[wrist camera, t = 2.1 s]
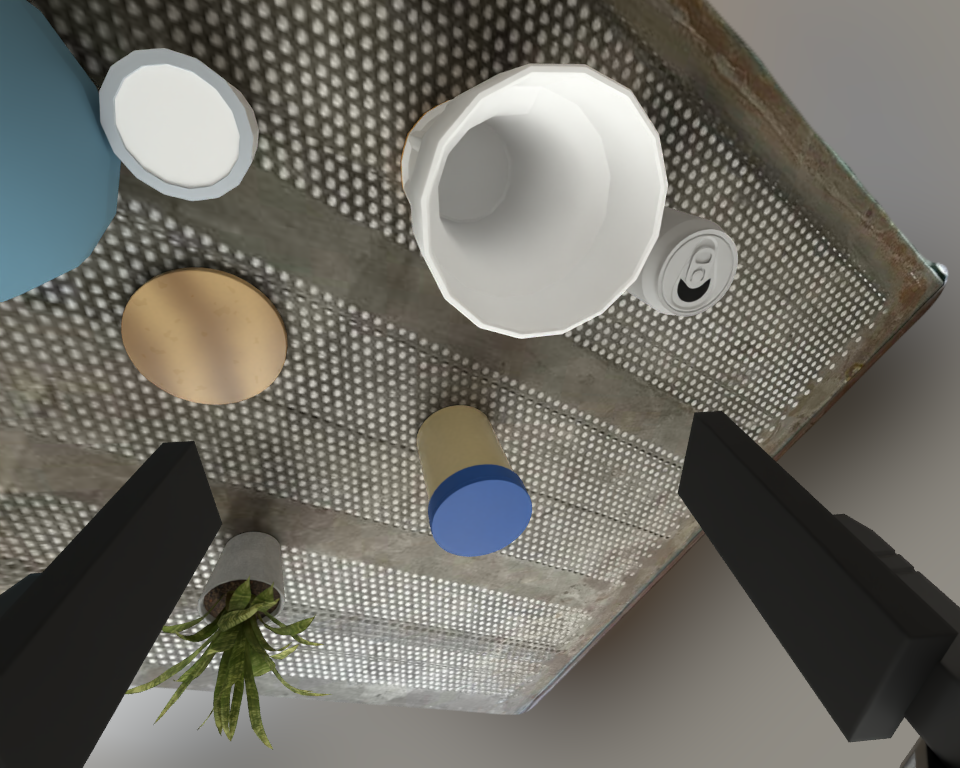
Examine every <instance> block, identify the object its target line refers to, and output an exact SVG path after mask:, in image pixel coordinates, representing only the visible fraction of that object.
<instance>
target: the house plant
mask: <svg viewBox="0 0 960 768" xmlns="http://www.w3.org/2000/svg"><path fill="white" fill-rule="evenodd" d="M284 604H285V594H284V582H283V570H282V559H281V548H280V544H279V543H278V541H277V540H276V539H275V538H274V537H273V536H270V535H268V534H266V533H261V532H246V533H242V534H239V535H237V536H235V537H233V538H231V539H230V540H229V541H228V542H227V544H226V546H225V547H224V549H223V552H222V554H221V556H220V558H219V560H218V562H217V564H216V566H215V568H214V570H213V572H212V574H211V576H210V578H209V580H208V582H207V584H206V586H205V588H204V590H203V592H202V594H201V596H200V598H199V600H198V607H197V609H198V612H199V614H200V616H201V618H198V619H196V620H193V621H191V622H188V623H184V624H179V625H174V626H164V627H163V628H162V630H163V631H164V632H166V633H176V634H177V636H179V637H180V638H182V639H184V640H188V641H192V642H200V641H202V640H205V639H206V638H208V637H210V636H211V635H212V634H213V635H212V636H211V637H210V638H209V639H208V640H207V641H206V642H205V643H204V644H203V645H202V646H201V647H200V648H199V649H197V650H196V651H195V652H194V653H193V654H192V655H190V656H189V657H187V658H186V659H184V660H183V661H182V662H180V663H178V664H176V665H175V666H173V667H171V668H170V669H168V670H167V671H166V672H164V673H163V674H162V675H160V676H159V677H157V678H156V679H154V680H153V681H151V682H149V683H146V684H144V685H141V686H138V687H135V688H132V689H130V690H127V691H126V693H125V694H133V693H139V692H142V691H145V690H148V689H150V688H153V687H155V686H157V685H158V684H160V683H162V682H163V681H165V680H167V679H168V678H170V677H171V676H173V675H174V674H176V673H177V672H179V671H180V670H182V669H183V668H184V667H185V666H186V665H188V664H189V663H190V662H191V661H192V660H193V659H194V658H195V657H196V656H197V654H198V653H199V652H200V651H201V650H203V649H204V648H205V647H206V646H207V645H208V644H209V643H210V642H211V641H212V642H211V644H210V645H209V647H208V648H207V650H206V651H205V652H204V654H203V655H202V657H201V658H200V659H199V660H198V661H197V662H196V663H195V664H194V665H193V666H192V667H191V668H190V669H189V670H187V671H186V672H185V673H184V674H183V675H182V676H181V677H180V678H179V679H178V680H177V681H178V682H183V683H182V684H181V685H180V687H179V688H178V689H177V691H176V692H175V694H174V695H173V697H172V698H171V699H170V701H169V702H168V704H167V705H166V707H165V708H164V710H163V711H162V712H161V714H160V716H159V717H158V719H157V720H156V722H157V721H158V720H159V719H160V718H161V717H162V716H163V715H164V714H165V712H166V711H167V710H168V709H169V708H170V707H171V706H172V704H174V703H175V702H176V700H177V699H178V698H179V697H180V696H181V694H182V693H183V692H184V690H185V689H186V688H187V686H188V685H189V684H190V682H191V681H192V680H193V679H195V678H197V677H198V676H199V675H200V674H201V673H202V672H203V671H204V670H205V668H206V667H207V666H208V664H209V663H210V661H211V660H212V658H213V657H214V655H215V654H216V652H223V651H224V652H223V655H222V658H221V662H220V666H219V671H218V677H217V683H216V687H215V692H214V702H213V706H214V708H213V710H214V717H215V723H216V726H217V728H218V731H219V733H220V734H221V732H222V728H223V730H224V732H225V733H226V735H227V737H228V739H230V741H231V739H232V737H233V735H234V732H235V728H236V725H237V720H238V715H239V710H240V705H241V700H242V695H243V689H244V679H245V684H246V693H247V701H248V709H249V717H250V721H251V725H252V729H253V730H254V732H255V733H256V735H257V736H258V737H259V738H260V739H261V741H262V742H263V743H264V744H265V745H266V746H268V747H269V748H271V749H273V748H272V746H271V744H270V743H269V740H268V739H267V736H266V734H265V731H264V728H263V725H262V720H261V716H260V707H259V697H258V692H257V688H256V685H255V681H254V677H255V676H261V675H263V674H265V673H267V672H269V671H271V670H272V671H273V673H274V674H275V675H276V677H277V678H278V679H279V680H280V681H281V682H282V683H283V685H284V686H286V687H287V688H289V689H290V690H291V691H293V692H294V693H298V694H301V695H307V696H324V695H332V694H316V693H308V692H311V691H305V690H299V689H296V688H294V687H292V686H290V685H289V684H288V683H287V682H285V681H284V680H283V678H282V677H281V676H280V674H279V673H278V671H277V670H276V668H275V663H274V662H273V661H272V659H271V658H270V657H272V658H274V659H280V660H282V659H284V658H285V657H286V656H288V655H289V654H290V653H292V652H293V651H294V650H296V648H297V647H298V645H299V644H298V645H295V646H293V647H291V648H289V649H287V650H285V651H283V652H281V653H279V654H276V655H273V656H269V655H268V654H267V653H266V651H265V649H266V650H269V651H282V650H284V649H285V648H287V647H288V646H289V645H290V644H291V643H292V642H291V643H290V644H288V645H286V646H285V647H283V648H281V649H279V650H275V649H273V648H272V647H270V646H269V644H268V643H267V642H266V640H265V639H264V638H263V635H262V633H261V631H260V629H259V627H260V626H263V625H264V626H265V627H266V628H268V629H269V630H271V631H272V632H274V633H276V634H280V635H291V636H292V637H293V638H294V639H295V640H297V641H298V642H299V643H302V644H306V645H313V646H318V645H323V644H318V643H313V642H309V641H307V640H304V639H303V638H301V637H299V636H298V635H296V634H298V633H301V632H303V631H304V630H305V629H306V628H307V627H308V626H309V625H310V624H311V622H312V621H313V619H314V617H315V616H316V615H315V616H314V617H312V618H308V619H304V620H302V621H299V622H296V623H294V624H291V625H288V626H286V625H284V624H283V623H281V622H280V621H278V620H277V619H276V617H277V616H278V615H279V614H280V612H281V611H282V609H283V608H284ZM201 620H204V621H205V622H207V623H208V624H209V625H207V626H206V627H204V628H203V629H202V630H200V631H199V632H197V633H196V634H194V635H191V636H184V635H181V634H179V633H178V632H180V631H183V630H186V629H188V628H190V627H192V626H194V625H196V624H197V623H199V622H200V621H201ZM270 621H273V622H274V623H276V624H277V625H278V626H280V627H281V628H273V627H270V626H268V625H267V623H269V622H270ZM218 628H219V629H218ZM217 630H218V631H217ZM264 648H265V649H264ZM274 669H275V670H274ZM173 680H174V679H173ZM174 681H175V680H174ZM234 683H235V687H234V693H233V699H232V704H231V710H230V692H231V687H232V685H233V684H234ZM213 710H212V711H211V713H212V712H213ZM211 713H210V715H211ZM210 715H209V716H210ZM204 723H205V722H204ZM204 723H203V724H204ZM228 723H229V727H228ZM201 726H202V725H201ZM201 726H200V727H201ZM198 729H199V728H198ZM229 729H230V731H229Z"/></svg>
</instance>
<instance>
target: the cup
mask: <svg viewBox="0 0 960 768" xmlns="http://www.w3.org/2000/svg"><path fill="white" fill-rule="evenodd" d="M401 179H402V188H403V190H404V192H405V194H406V197H407V199H408V201H409V202H410V204H411V216H412V231H413V234H414V236H415V239H416V241H417V243H418V246H419V248H420V251H421V253H422V255H423V257H424V259H425V261H426V263H427V265H428V267H429V269H430V271H431V273H432V275H433V277H434V279H435V281H436V283H437V285H438V287H439V288H440V290H441V292H442V294H443V296H444V298H445V299H446V300H447V301H448V302H449V303H450V304H452V305H453V306H454V307H455V308H456V309H458V310H459V311H460V312H461V313H462V314H463V315H465V316H466V317H467V318H468V319H469V320H471V321H472V322H473V323H474V324H475V325H477V326H478V327H479V328H482V329H486V330H490V331H493V332H497V333H501V334H505V335H508V336H512V337H516V338H519V339H522V338H531V337H540V336H549V335H557V334H564V333H565V332H567V331H569V330H571V329H573V328H575V327H577V326H579V325H581V324H583V323H585V322H587V321H589V320H591V319H592V318H594V317H596V316H598V315H600V314H602V313H603V312H604V311H605V310H606V309H607V308H608V307H609V306H610V305H611V304H612V303H613V302H614V301H615V300H616V299H617V298H618V297H619V296H621V295H622V294H623V293H624V292H625V291H626V290H627V289H628V288H629V287H630V286H631V285H632V284H633V283H634V282H635V281H636V279H637V277H638V275H639V274H640V272H641V270H642V268H643V266H644V264H645V262H646V260H647V258H648V256H649V254H650V252H651V250H652V248H653V246H654V244H655V242H656V241H657V239H658V237H659V232H660V227H661V221H662V216H663V210H664V205H665V199H666V194H667V188H668V181H667V176H666V170H665V165H664V159H663V153H662V148H661V142H660V137H659V133H658V131H657V130H656V128H655V127H654V125H653V124H652V122H651V120H650V119H649V117H648V116H647V114H646V112H645V111H644V109H643V108H642V106H641V105H640V103H639V101H638V100H637V98H636V97H635V95H634V94H633V92H632V90H631V89H629V88H627V87H625V86H623V85H622V84H620V83H618V82H616V81H614V80H613V79H611V78H609V77H607V76H605V75H604V74H602V73H600V72H598V71H596V70H594V69H593V68H591V67H589V66H587V65H585V64H527V65H524V66H521V67H518V68H515V69H512V70H509V71H506V72H503V73H500V74H497V75H495V76H494V77H492V78H490V79H488V80H486V81H484V82H482V83H480V84H478V85H477V86H475V87H473V88H471V89H469V90H467V91H465V92H463V93H462V94H460V95H458V96H456V97H455V98H454V99H452V100H447V101H445V102H443V103H441V104H439V105H437V106H435V107H434V108H432V109H430V110H429V111H427V112H426V113H424V114H423V116H422V117H421V118H420V119H419V120H418V121H417V122H416V123H415V125H414V126H413V127H412V129H411V130H410V131H409V133H408V134H407V137H406V141H405V144H404V147H403V152H402V156H401Z"/></svg>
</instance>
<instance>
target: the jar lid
mask: <svg viewBox="0 0 960 768" xmlns="http://www.w3.org/2000/svg"><path fill="white" fill-rule="evenodd" d="M531 514H532V503H531V499H530V497H529V495H528V492H527V490H526V488H525V486H524V484H523V482H522V480H521V479H520V477H519V476H518V475H517V474H516V473H514V472H513V471H511V470H510V469H508V468H506V467H503V466H499V465H493V464H482V465H475V466H471V467H467V468H464V469H462V470H460V471H458V472H456V473H454V474H452V475H451V476H449V477H448V478H446V479H445V480H444V481H443V482H442V483H441V484H440V485H439V486H438V487H437V489H436V490H435V491H434V493H433V495H432V497H431V499H430V502H429V506H428V515H429V520H430V522H429V523H430V528H431V532H432V534H433V537H434V539H435V541H436V542H437V544H438V545H439V546H440V547H441V548H442V549H444V550H446V551H447V552H449V553H452V554H455V555H459V556H469V557H470V556H481V555H485V554H489V553H492V552H495V551H497V550H500V549H502V548H504V547H505V546H507V545H509V544H510V543H512V542H513V541H514V540H515V539H516V538H517V537H519V536H520V535H521V533H522V532H523V531H524V530H525V528H526V527H527V525H528V523H529V521H530V518H531Z"/></svg>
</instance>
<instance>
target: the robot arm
mask: <svg viewBox="0 0 960 768" xmlns="http://www.w3.org/2000/svg"><path fill="white" fill-rule="evenodd" d="M678 494H679V496H680V497H681V499H682V500H683V502H684V503H685V505H686V506H687V507H688V509H689V510H690V512H691V513H692V515H693V516H694V518H695V519H696V521H697V522H698V523H699V525H700V526H701V528H702V529H703V531H704V532H705V534H706V535H707V536H708V538H709V539H710V541H711V542H712V544H713V545H714V546H715V548H716V550H717V551H718V553H719V554H720V555H721V557H722V558H723V560H724V561H725V563H726V564H727V566H728V567H729V569H730V570H731V571H732V573H733V574H734V576H735V577H736V579H737V580H738V582H739V583H740V584H741V586H742V587H743V589H744V590H745V592H746V593H747V595H748V596H749V598H750V599H751V600H752V602H753V603H754V605H755V606H756V608H757V609H758V611H759V612H760V614H761V615H762V617H763V618H764V619H765V621H766V622H767V624H768V625H769V627H770V628H771V629H772V631H773V633H774V634H775V635H776V637H777V638H778V639H779V641H780V643H781V644H782V646H783V647H784V648H785V650H786V651H787V653H788V654H789V656H790V657H791V659H792V660H793V662H794V663H795V664H796V666H797V667H798V669H799V670H800V672H801V673H802V675H803V676H804V677H805V679H806V680H807V682H808V683H809V685H810V686H811V688H812V689H813V691H814V692H815V694H816V695H817V696H818V698H819V699H820V701H821V702H822V704H823V705H824V707H825V708H826V709H827V711H828V713H829V714H830V715H831V717H832V718H833V720H834V721H835V723H836V724H837V725H838V727H839V728H840V730H841V731H842V733H843V734H844V736H845V737H846V739H847V740H848V742H856V741H867V740H876V739H886V738H891V737H892V735H893V734H894V732H895V731H896V729H897V728H898V726H899V724H900V723H901V721H902V720H903V718H904V717H905V718H906V719H907V720H908V722H909V723H910V724H911V725H912V727H913V728H914V729H915V730H916V731H917V733H918V734H919V735H920V738H919V739H918V740H917V742H916V743H915V745H914V746H913V748H912V749H911V751H910V752H909V754H908V755H907V756H906V758H905V759H904V761H903V762H902V763H901V765H900V768H960V607H959V606H957V605H956V604H955V603H954V602H953V601H952V600H951V599H949V598H948V597H947V596H946V595H945V594H944V593H943V592H942V591H940V590H939V589H938V588H937V587H936V586H935V585H934V584H932V583H931V582H930V581H929V580H928V579H927V578H926V577H925V576H923V575H922V574H921V573H920V572H918V571H917V572H916V571H915V570H914V567H913V566H912V565H911V564H910V563H909V562H908V561H907V560H905V559H904V558H903V557H902V556H901V555H900V554H896V553H895V550H894V549H893V548H892V547H891V546H890V545H888V544H887V543H886V542H885V541H884V540H883V539H882V538H881V537H880V536H878V535H877V534H876V533H875V532H874V531H873V530H871V529H869V528H868V527H866V526H864V525H862V524H861V523H859V522H857V521H855V520H854V519H852V518H850V517H848V516H847V515H845V514H837V515H832V514H831V513H830V512H829V511H828V510H827V509H826V508H825V507H824V506H823V505H822V504H820V503H819V502H818V501H817V500H816V499H815V498H814V497H813V496H812V495H811V494H810V493H809V492H808V491H807V490H805V488H803V487H802V486H801V485H800V484H799V483H798V482H797V481H796V480H795V479H794V478H793V477H792V476H790V475H789V473H787V472H786V471H785V470H784V469H783V468H782V467H781V466H780V465H779V464H778V463H777V462H776V461H775V460H774V459H773V458H771V457H770V456H769V455H768V454H767V453H766V452H765V451H764V450H763V449H762V448H761V447H760V446H759V445H758V444H756V443H755V442H754V441H753V440H752V439H751V438H750V437H749V436H748V435H747V434H746V433H745V432H744V431H743V430H742V429H740V428H739V427H738V426H737V425H736V424H735V423H734V422H733V421H732V420H731V419H730V418H729V417H728V416H727V415H726V414H724V413H723V412H722V411H714V412H696V413H694V418H693V422H692V427H691V432H690V437H689V442H688V446H687V451H686V456H685V461H684V465H683V470H682V475H681V480H680V485H679V489H678ZM221 525H222V521H221V518H220V516H219V513H218V510H217V507H216V504H215V501H214V498H213V495H212V492H211V489H210V486H209V483H208V480H207V477H206V474H205V472H204V469H203V466H202V463H201V460H200V457H199V454H198V451H197V448H196V445H195V442H194V441H187V442H169V443H162V444H161V445H160V447H159V448H158V449H157V450H156V451H155V452H154V453H153V454H152V455H151V456H150V457H149V458H148V459H147V461H146V462H145V463H144V464H143V465H142V466H141V467H140V468H139V469H138V470H137V471H136V472H135V473H134V475H133V476H132V477H131V478H130V479H129V480H128V481H127V482H126V483H125V484H124V485H123V486H122V487H121V489H120V490H119V491H118V492H117V493H116V494H115V495H114V496H113V497H112V498H111V499H110V500H109V501H108V503H107V504H106V505H105V506H104V507H103V508H102V509H101V510H100V511H99V512H98V513H97V514H96V515H95V517H94V518H93V519H92V520H91V521H90V522H89V523H88V524H87V525H86V526H85V527H84V528H83V529H82V531H81V532H80V533H79V534H78V535H77V536H76V537H75V538H74V539H73V540H72V541H71V542H70V543H69V545H68V546H67V547H66V548H65V549H64V550H63V551H62V552H61V553H60V554H59V555H58V556H57V557H56V559H55V560H54V561H53V562H52V563H51V564H50V565H49V566H48V567H47V568H46V569H45V570H44V571H43V573H33V574H29V575H28V576H27V577H25V578H24V579H22V580H21V581H19V582H18V583H17V584H15V585H14V586H12V587H11V588H9V589H8V590H7V591H5V592H4V593H2V594H1V595H0V768H83V766H84V764H85V763H86V761H87V759H88V757H89V756H90V754H91V752H92V751H93V749H94V747H95V745H96V743H97V742H98V740H99V738H100V737H101V735H102V733H103V731H104V730H105V728H106V726H107V724H108V722H109V721H110V719H111V717H112V716H113V714H114V712H115V710H116V709H117V707H118V705H119V703H120V702H121V700H122V698H123V696H124V694H125V693H126V691H127V689H128V688H129V686H130V684H131V682H132V681H133V679H134V677H135V675H136V674H137V672H138V670H139V668H140V667H141V665H142V663H143V661H144V660H145V658H146V656H147V655H148V653H149V651H150V649H151V648H152V646H153V644H154V642H155V641H156V639H157V637H158V635H159V634H160V632H161V630H162V628H163V627H164V625H165V623H166V621H167V620H168V618H169V616H170V614H171V613H172V611H173V609H174V607H175V606H176V604H177V602H178V600H179V599H180V597H181V595H182V593H183V592H184V590H185V588H186V586H187V585H188V583H189V581H190V579H191V578H192V576H193V574H194V572H195V571H196V569H197V567H198V565H199V564H200V562H201V560H202V558H203V557H204V555H205V553H206V551H207V550H208V548H209V546H210V545H211V543H212V541H213V539H214V538H215V536H216V534H217V532H218V531H219V529H220V527H221Z"/></svg>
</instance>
